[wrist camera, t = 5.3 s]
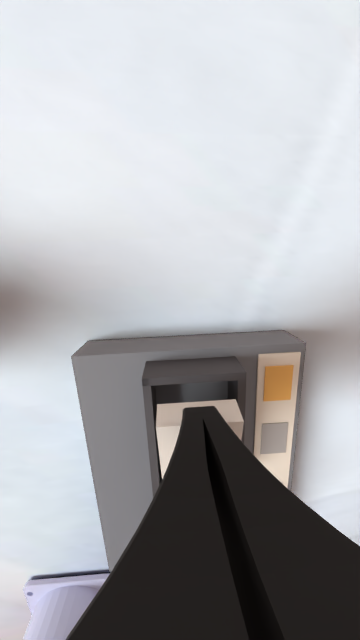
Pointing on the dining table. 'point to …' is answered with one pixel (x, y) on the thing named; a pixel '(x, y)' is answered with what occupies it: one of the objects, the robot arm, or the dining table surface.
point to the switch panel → (178, 387)
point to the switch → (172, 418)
